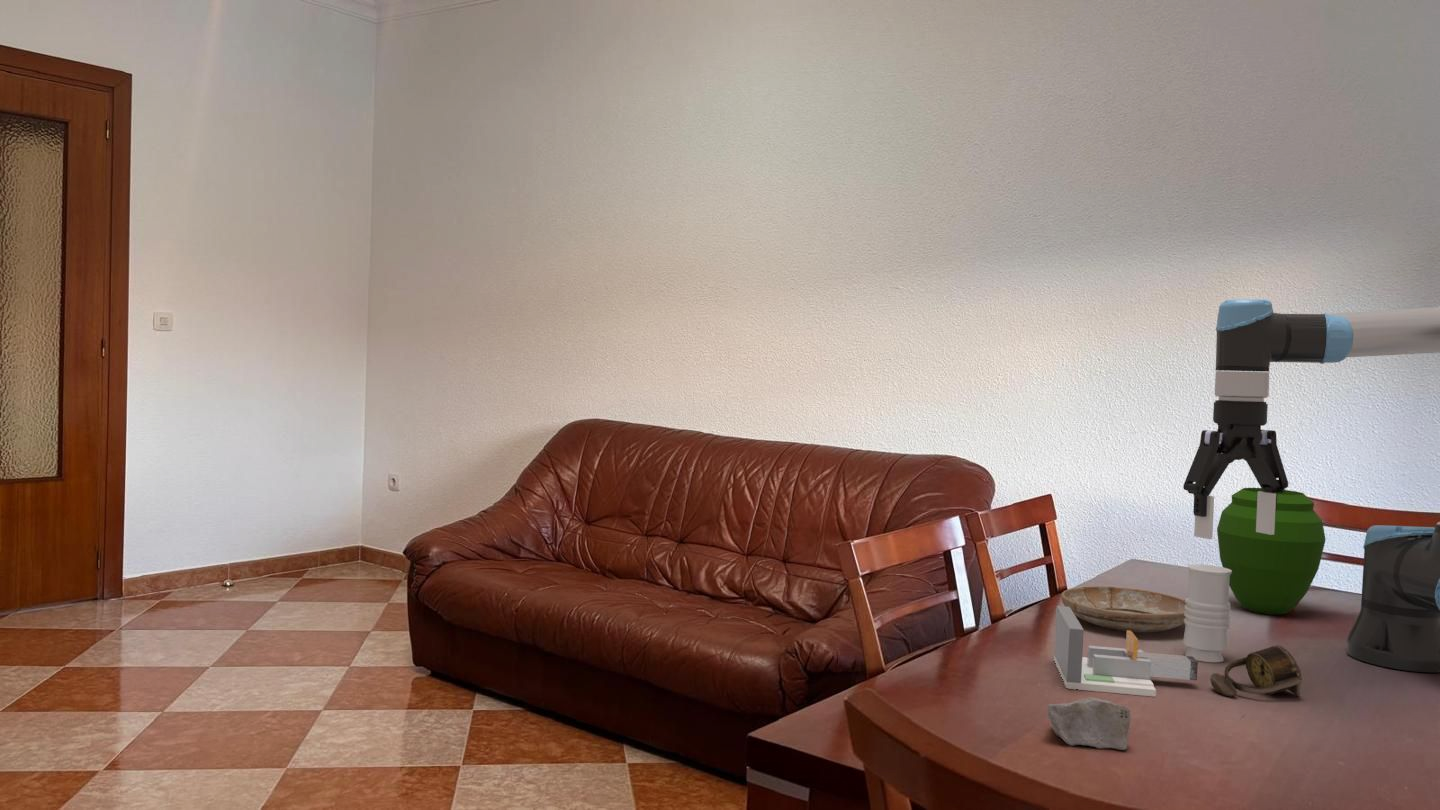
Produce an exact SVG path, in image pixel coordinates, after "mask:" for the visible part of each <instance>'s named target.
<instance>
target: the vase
mask: <svg viewBox="0 0 1440 810" xmlns="http://www.w3.org/2000/svg"><path fill="white" fill-rule="evenodd" d="M1258 491H1262V492H1264V491H1263V490H1262V488H1261V487H1243V488H1241V489H1240V490H1238V491H1236V492H1235V493H1232V495H1231V502H1230V503H1229V504H1228V505H1227V506H1226V507H1225V508H1224V509H1223V510H1222V511H1221V514H1220V517H1219V521H1218V524H1217V527H1216V533H1217V534H1216V535H1217V541H1218V551H1219V552H1218V553H1219V560H1220V562H1221V565H1222V566H1221V567H1224V568H1228V569H1230V570H1232V574H1230V580H1229V589H1230V590H1231V592H1232V593H1233V595H1234V597H1235V599H1236V600H1237V601H1238V602H1239V604H1240V605H1241V606H1242V607H1243V608H1244V609H1246V610H1247V611H1250V612H1253V613H1257V614H1262V615H1271V616H1272V615H1273V616H1277V615H1278V616H1281V615H1285V614H1288V613H1290V612H1291V611H1293V609H1295V607H1297V606H1298V605H1299V603H1300V602H1301V601H1302V599H1303V598H1304V597H1305V596H1306V595H1307V593H1308V591H1309V590H1310V587H1311V585H1312V584H1313V582H1314V579H1315V577H1316V575H1317V573H1318V570H1319V568H1320V565H1321V564H1320V563H1321V560H1322V556H1323V552H1324V548H1325V544H1326V535H1325V533H1326V532H1325V529H1324V522H1323V520H1322V518H1321V517H1320V516H1319V514H1318V513H1317V512H1316V511H1315V509H1314V507H1315V502H1314V501H1313V500H1312V499H1311V498H1309V497H1308V496H1307V495H1306V494H1305V493H1304V492H1300V491H1296V490H1295V491H1294V490H1290V489H1285V491H1284V493H1277V510H1276V512H1275V529H1274V535H1269V534H1264V533H1258V532H1256V518H1257V496H1258Z"/></svg>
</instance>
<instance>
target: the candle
mask: <svg viewBox="0 0 1440 810" xmlns="http://www.w3.org/2000/svg"><path fill="white" fill-rule="evenodd" d="M1186 568H1187V570H1188V583H1187V597H1185V598H1184V600H1185V602H1186V603H1187V604H1186V605H1185V609H1186V610H1187V611H1185V613H1184V616H1185V617H1186V618H1185V619H1184V624H1185V628H1184V634H1183V641H1182V643H1183V645H1185V646H1187V647H1188V649H1187V650H1186V652H1185V654H1184V656H1192V657H1194V658H1195V659H1196V661H1197V662H1198V661H1199V662H1204V663H1205V662H1206V663H1221V662H1224V656H1223V654H1222V652H1224V651H1226V650H1227V649H1228V633H1227V632H1228V631H1227V630H1228V629H1230V622H1231V621H1230V618H1231V616H1230V615H1231V605H1232V604H1231V602H1230V601H1229V596H1230V593H1229V592H1230V591H1229V590H1230V586H1229V580H1230V574H1232V570H1230V569H1228V568H1224V567H1223V566H1219V565H1212V564H1198V563H1197V564H1188V565H1187V567H1186Z"/></svg>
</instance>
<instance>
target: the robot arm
mask: <svg viewBox="0 0 1440 810" xmlns="http://www.w3.org/2000/svg"><path fill="white" fill-rule="evenodd" d="M1215 331H1216V343H1215V345H1216V346H1215V352H1216V353H1215V378H1214V381H1215V383H1214V396H1215V397H1218V399H1216V400H1215V401H1214V402H1213V412H1212V413H1213V415H1212V416H1213V417H1212V421H1213V423H1215V424H1216V425H1217V430H1207V429H1205V430H1204V429H1203V430H1202V431H1201V434H1200V441H1199V442H1200V443H1199V446H1198V448H1197V450H1196V453H1195V455H1194V459H1193V461H1192V463H1191V465H1190V468H1189V470H1188V473H1187V476H1186V478H1185V480H1184V483H1183V490H1184V491H1187V492H1188V494H1190V495H1193V510H1192V511H1193V515H1194V528H1193V529H1194V531H1193V532H1194V534H1193V535H1194V537H1196V538H1200V539H1201V538H1202V539H1206V540H1213V532H1214V511H1215V508H1214V507H1215V496H1213V495H1211V493H1212V491H1213V490H1214V489H1215V487H1216V486H1217V484H1218V482H1219V480H1220V479H1221V477H1222V475H1223V474H1224V473H1225V471H1226V470H1227V468H1228V467H1229V465H1230V464H1231V463H1233V462H1235V461H1240V460H1244V461H1245V462H1246V464H1247V465H1248V467H1249V469H1250V471H1251V472H1252V475H1253V476H1254V478H1255V480H1256V481H1257V483H1258V485H1259V486H1260V488H1262V490H1263V491H1264V492H1262V491H1258V496H1257V518H1256V532H1258V533H1264V534H1269V535H1274V529H1275V512H1276V510H1277V493H1284V491H1285V490H1286V489H1287V488H1288V487H1289V481H1288V477H1287V475H1286V471H1285V467H1284V464H1283V460H1282V458H1281V455H1280V451H1279V448H1278V444H1277V440H1278V439H1277V432H1276V430H1271V429H1270V430H1269V429H1262V428H1261V427H1262V426H1266V424H1267V423H1268V408H1269V407H1268V406H1269V404H1268V403H1267V402H1266V401H1265V399H1267V398H1268V397H1269V391H1270V389H1269V388H1270V364H1271V363H1303V364H1304V363H1307V364H1308V363H1311V364H1312V363H1315V364H1317V363H1318V364H1323V365H1325V363H1326V364H1327V363H1328V364H1331V363H1332V364H1333V363H1340V362H1342V361H1344V360H1345V359H1346V358H1358V357H1359V358H1361V357H1365V358H1366V357H1378V356H1379V357H1381V356H1401V355H1403V356H1404V355H1415V354H1416V355H1417V354H1418V355H1420V354H1440V304H1439V305H1438V306H1436V307H1420V308H1407V309H1406V308H1404V309H1401V308H1400V309H1385V310H1367V311H1351V312H1333V313H1332V312H1331V313H1280V312H1279V313H1278V312H1274V309H1273V303H1272V301H1271V300H1269V299H1261V298H1260V299H1259V298H1239V299H1238V298H1236V299H1235V298H1233V299H1227V300H1224V301H1223V302H1221V303H1220V305H1219V307H1218V313H1217V319H1216V328H1215ZM1362 547H1363V549H1364V552H1363V568H1362V583H1361V603H1360V610H1359V613H1358V615H1357V617H1356V619H1355V621H1354V622H1353V623H1354V624H1353V626H1352V628H1351V630H1350V632H1349V634H1348V636H1347V638H1346V648H1345V649H1346V650H1345V651H1346V652H1345V653H1346V654H1347V655H1349V656H1350V657H1352V658H1354V659H1355V660H1358V661H1362V662H1365V663H1367V664H1371V665H1374V666H1375V665H1376V666H1380V667H1384V668H1388V669H1395V670H1401V671H1407V672H1419V673H1440V521H1438V522H1436V524H1435V527H1433V526H1413V525H1412V526H1409V525H1408V526H1406V525H1385V524H1383V525H1381V524H1380V525H1379V524H1378V525H1377V524H1376V525H1371V526H1370V527H1369V528H1368V529H1367V531H1366V535H1365V538H1364V543H1363V546H1362Z"/></svg>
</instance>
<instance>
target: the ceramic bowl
mask: <svg viewBox="0 0 1440 810" xmlns="http://www.w3.org/2000/svg"><path fill="white" fill-rule="evenodd" d="M1060 597H1061V602H1062V604H1063V606H1066V607H1070V608H1071V610H1072V611H1073V613H1074V615H1075V616H1076V618H1079V619H1081V620H1082V621H1084V622H1086V623H1087V622H1088V623H1090V624H1091V625H1092V624H1093V625H1096V626H1098V627H1104V628H1106V629H1112V630H1118V631H1122V632H1127V630H1131V631H1132V633H1157V632H1158V633H1160V632H1164V631H1169V630H1171V629H1175V628H1178V627H1179V626H1182V625H1183V624H1185V623H1184V619H1185V618H1186V617H1185V616H1184V613H1185V611H1187V610H1186V609H1185V605H1186V604H1187V603H1186V602H1185V599H1182V598H1180V597H1177V596H1173V595H1170V594H1164V593H1161V592H1157V591H1151V590H1144V589H1138V588H1137V589H1135V588H1130V587H1128V588H1127V587H1116V586H1083V587H1073V588H1068V589H1066V590H1064V591H1062V593H1061V596H1060Z"/></svg>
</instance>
